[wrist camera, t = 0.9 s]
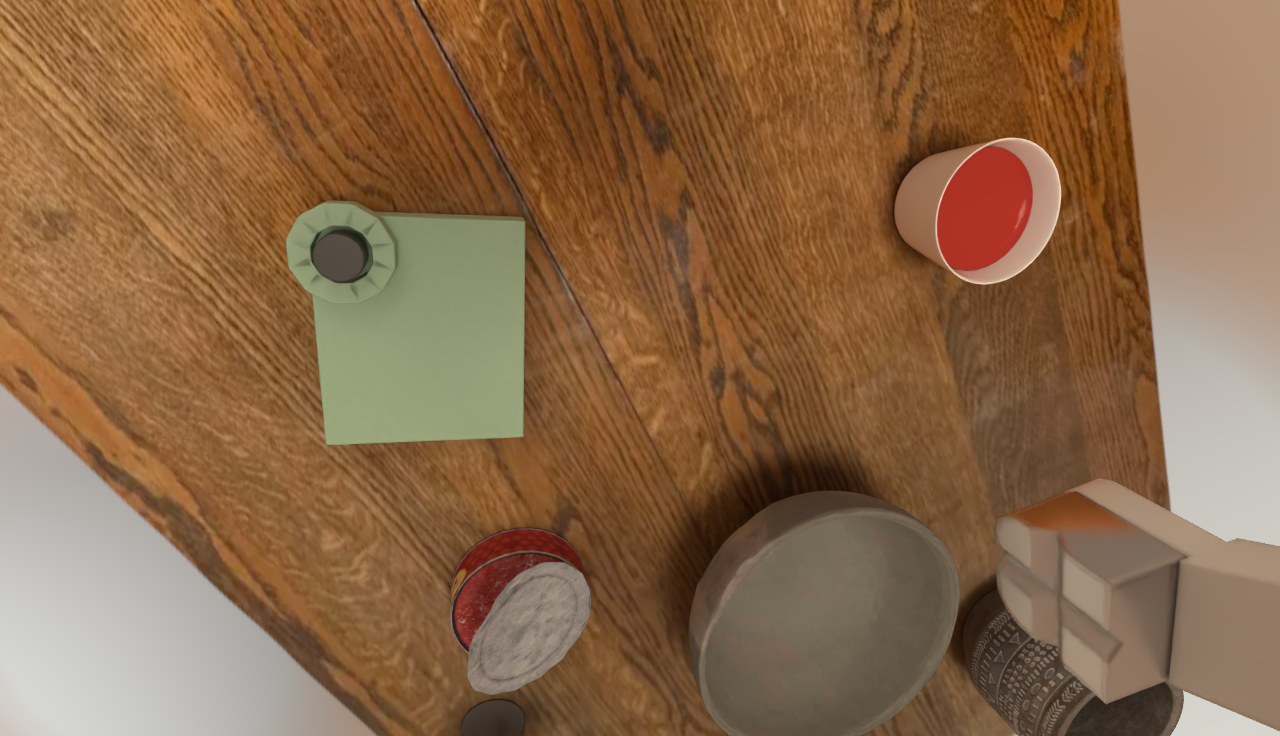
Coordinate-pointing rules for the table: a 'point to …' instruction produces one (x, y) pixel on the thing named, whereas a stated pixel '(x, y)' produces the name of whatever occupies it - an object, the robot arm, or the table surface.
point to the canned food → (518, 607)
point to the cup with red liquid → (981, 208)
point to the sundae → (494, 719)
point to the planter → (1052, 684)
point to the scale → (418, 325)
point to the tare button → (340, 256)
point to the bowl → (821, 617)
